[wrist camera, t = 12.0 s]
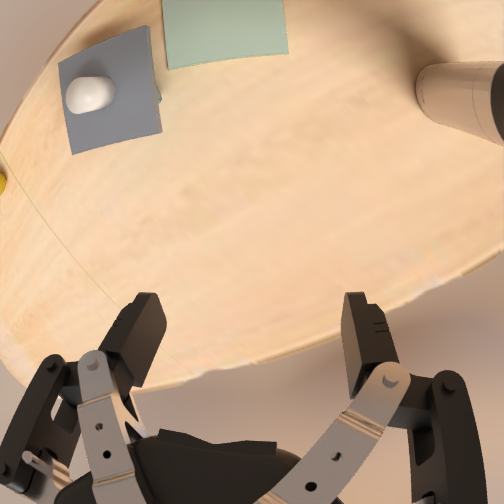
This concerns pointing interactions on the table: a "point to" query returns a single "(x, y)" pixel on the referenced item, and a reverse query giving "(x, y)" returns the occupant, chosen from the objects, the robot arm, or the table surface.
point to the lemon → (2, 183)
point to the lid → (110, 92)
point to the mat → (222, 30)
